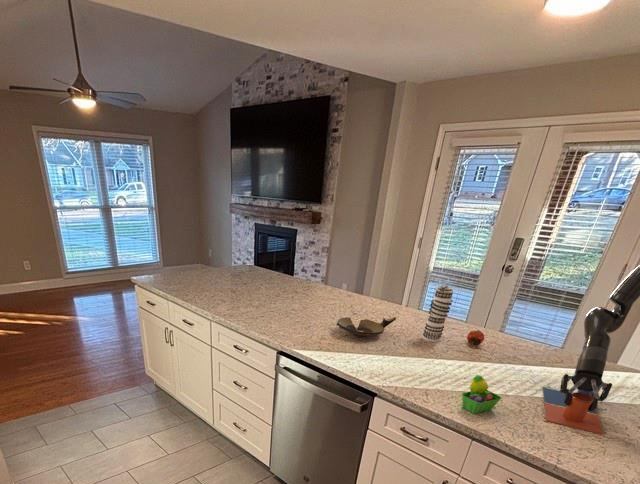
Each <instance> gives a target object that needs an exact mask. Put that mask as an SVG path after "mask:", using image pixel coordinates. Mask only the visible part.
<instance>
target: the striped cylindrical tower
mask: <svg viewBox="0 0 640 484" xmlns="http://www.w3.org/2000/svg"><path fill="white" fill-rule="evenodd" d="M454 293H455V290H454V289H453V287H452V286H449V285H445V284H443V285H439V286H438V287H436V288H435V293H434V296H433V299H432V300H431V301H430V305H429V306H430V308H429V311H428V315H429V316H428V319H427V321H426V323H425V326H424V330H423V333H422V339H423V340H425V341H427V342H432V343H437V342H440V341H441V339H442V336H443V332H444V329H445V324H446V323H445V322H446V318H447V317H448V316H449V315H448V313H449V312H450V309H451V307H450V306H452V304H453V303H452V302H453V299H452V298H453V294H454Z"/></svg>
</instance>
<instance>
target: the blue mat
mask: <svg viewBox="0 0 640 484" xmlns="http://www.w3.org/2000/svg"><path fill="white" fill-rule="evenodd" d="M542 391H543V398H544V399H543V401H544V403H547V404H551V405H555V406H560V407H564V408H566V405H565V403H564V399H565V393H561V392H560V390H559V389H558V390H557V389H553V388H548V387H544V386H542ZM587 413H590V414H594V415H598V413H597V410H596V409H594V410H592V411H589V410H588V412H587Z"/></svg>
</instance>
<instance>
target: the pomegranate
mask: <svg viewBox="0 0 640 484" xmlns="http://www.w3.org/2000/svg"><path fill="white" fill-rule="evenodd" d="M484 340H485V333H484V332H482V331H481V330H480V329H477V330H471V331H469V333H467V336H466V341H467V343H468V344H470V345H471V346H470V347H472V346H473V345H475V346H479V345H481V344H482V343H483V342H484Z"/></svg>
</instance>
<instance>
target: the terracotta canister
mask: <svg viewBox="0 0 640 484" xmlns="http://www.w3.org/2000/svg"><path fill="white" fill-rule="evenodd" d="M593 401H594V398H593V397H591V396H590V395H587V394H584V393H576V392H572V397H571V401H570V404H569V405H568V406H566V407H564V408H565V410H564V412H563V417H565V418H566V419H568V420H571V421H575V422H581V421H583V419H584V418H585V416H586V414H587V413H589V412H588V410H589V408H590V406H591V404H592V403H593Z"/></svg>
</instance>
